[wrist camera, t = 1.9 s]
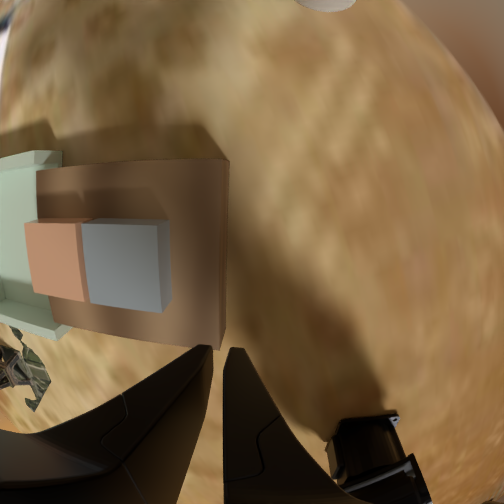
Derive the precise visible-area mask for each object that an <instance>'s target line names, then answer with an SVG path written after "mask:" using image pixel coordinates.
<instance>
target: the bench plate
mask: <svg viewBox="0 0 504 504" xmlns="http://www.w3.org/2000/svg"><path fill="white" fill-rule="evenodd" d="M228 186H229V161H227V160H224V159H163V160H139V161H122V162H109V163H97V164H87V165H77V166H68V167H60V168H52V169H45V170H38V171H36V200H37V218H38V219H40V218H93V220H94V219H98V218H118V219H163V220H170V263H171V284H172V300H171V302H170V303H169V304H168V306H167V307H166V309H165V310H164V311H163V313H155V312H148V311H140V310H133V309H125V308H119V307H112V306H105V305H99V304H93V303H90V298H89V299H88V300H87V301H85V302H81V301H76V300H70V299H65V298H59V297H54V296H49V295H48V298H49V302H50V307H51V311H52V316H53V320H54V322H55V323H59V324H63V325H67V326H71V327H75V328H80V329H84V330H89V331H93V332H98V333H103V334H108V335H113V336H119V337H124V338H130V339H135V340H141V341H147V342H154V343H161V344H168V345H175V346H183V347H191V348H193V347H195V346H196V345H198V344H204V345H211V346H212V348H213V350H219V351H220V347H221V344H222V340H223V336H224V333H225V329H226V260H227V218H228Z"/></svg>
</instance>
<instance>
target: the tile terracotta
mask: <svg viewBox="0 0 504 504" xmlns="http://www.w3.org/2000/svg"><path fill="white" fill-rule="evenodd" d="M91 220H93V218H40V219H37V220H33V221H30V222H26V223H24V229H25V239H26V247H27V255H28V262H29V268H30V274H31V280H32V285H33V290H34V292H35V293H39V294H44V295H49V296H54V297H59V298H65V299H70V300H76V301H81V302H85V301H87V300H88V299H89V298H90V297H89V291H88V284H87V277H86V269H85V261H84V252H83V241H82V228H81V224H82V223H85V222H88V221H91Z"/></svg>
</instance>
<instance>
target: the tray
mask: <svg viewBox="0 0 504 504" xmlns="http://www.w3.org/2000/svg"><path fill="white" fill-rule="evenodd" d="M62 153H63V151H51V150H33V151H28V152H24V153H20V154H16V155H12V156H8V157H4V158H0V322H1V323H4V324H7V325H9V326H12V327H15V328H18V329H20V330H23V331H26V332H29V333H32V334H35V335H38V336H41V337H45V338H48V339H51V340H54V341H58V340H59V339H60V338H61V337H63V336H64V335H65V334H66V333H67V332H68V331H69V330H70V329H72V328H73V327H71V326H67V325H63V324H59V323H55V322H54V320H53V316H52V311H51V307H50V302H49V298H48V295H44V294H39V293H35V292H34V290H33V285H32V280H31V274H30V268H29V262H28V255H27V247H26V239H25V229H24V223H26V222H30V221H33V220H37V219H38V218H37V200H36V171H38V170H45V169H52V168H60V167H62Z"/></svg>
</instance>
